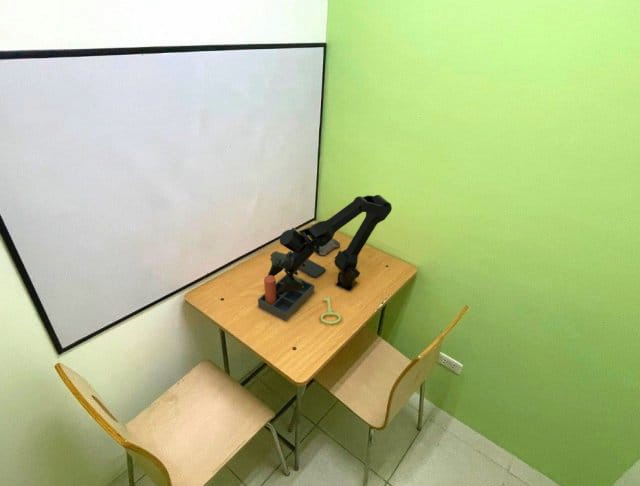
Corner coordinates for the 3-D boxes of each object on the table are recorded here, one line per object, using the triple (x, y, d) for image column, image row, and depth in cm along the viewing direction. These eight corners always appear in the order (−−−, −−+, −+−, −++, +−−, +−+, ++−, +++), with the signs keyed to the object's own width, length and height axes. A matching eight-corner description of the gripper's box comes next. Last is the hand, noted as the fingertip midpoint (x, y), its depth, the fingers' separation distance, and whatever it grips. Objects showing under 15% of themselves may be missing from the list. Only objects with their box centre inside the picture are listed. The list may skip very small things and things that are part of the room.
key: (328, 299, 143) (329, 295, 142) (342, 322, 134) (343, 318, 133) (311, 304, 141) (311, 300, 139) (324, 327, 132) (324, 323, 131)
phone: (300, 254, 163) (326, 268, 156) (300, 256, 164) (326, 270, 157) (288, 262, 159) (315, 277, 151) (288, 263, 159) (315, 278, 152)
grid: (313, 292, 146) (314, 285, 143) (285, 321, 133) (285, 313, 131) (287, 280, 151) (287, 273, 148) (258, 307, 138) (257, 299, 135)
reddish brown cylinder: (277, 301, 140) (276, 276, 132) (274, 308, 137) (273, 283, 129) (267, 299, 140) (266, 274, 132) (264, 307, 137) (262, 281, 129)
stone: (308, 252, 171) (322, 262, 165) (306, 244, 167) (320, 253, 161) (328, 238, 175) (342, 247, 169) (326, 230, 172) (341, 238, 165)
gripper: (275, 231, 131) (247, 263, 134) (295, 261, 118) (263, 296, 121) (295, 245, 139) (268, 275, 142) (316, 274, 126) (286, 306, 129)
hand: (271, 287), depth 133 cm, fingers open, 9 cm apart
